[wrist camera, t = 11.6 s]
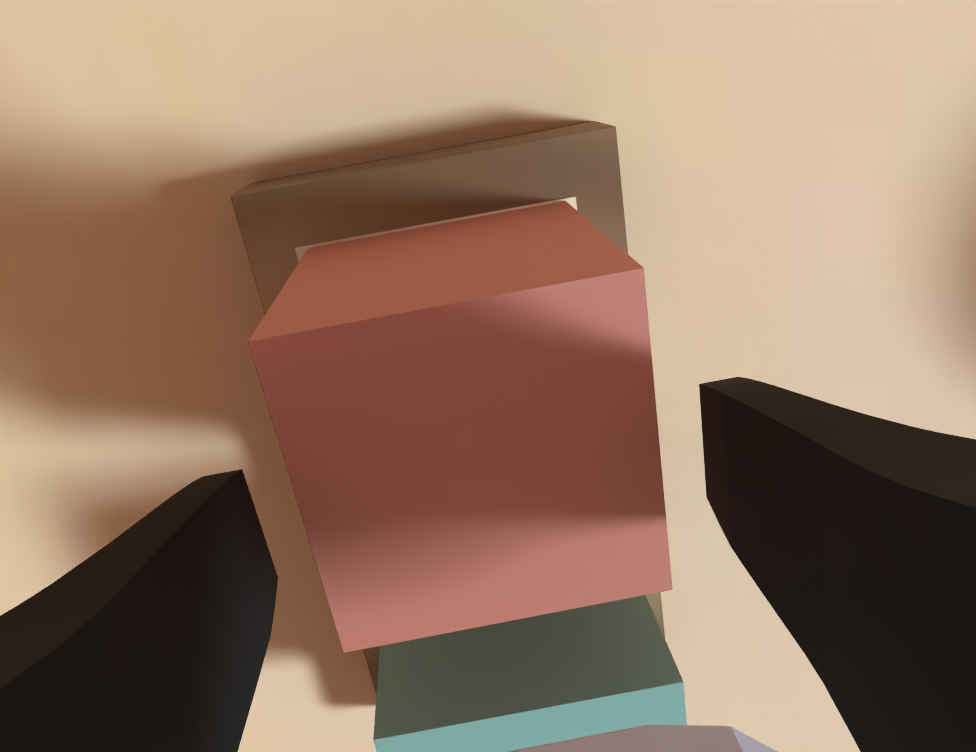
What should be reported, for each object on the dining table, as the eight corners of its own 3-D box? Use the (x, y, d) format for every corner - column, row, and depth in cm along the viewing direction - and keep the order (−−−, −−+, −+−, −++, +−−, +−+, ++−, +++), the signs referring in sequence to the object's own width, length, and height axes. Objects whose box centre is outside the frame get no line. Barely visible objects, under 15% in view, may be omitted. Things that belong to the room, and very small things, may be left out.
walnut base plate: (651, 656, 23) (672, 708, 22) (397, 705, 23) (395, 761, 21) (594, 121, 17) (616, 126, 15) (250, 183, 17) (230, 197, 15)
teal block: (624, 671, 21) (699, 887, 15) (428, 707, 21) (431, 939, 15) (605, 502, 19) (683, 681, 13) (387, 541, 19) (373, 740, 13)
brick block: (594, 430, 18) (672, 589, 12) (367, 473, 18) (343, 653, 12) (565, 200, 16) (643, 268, 10) (307, 247, 16) (248, 341, 10)
